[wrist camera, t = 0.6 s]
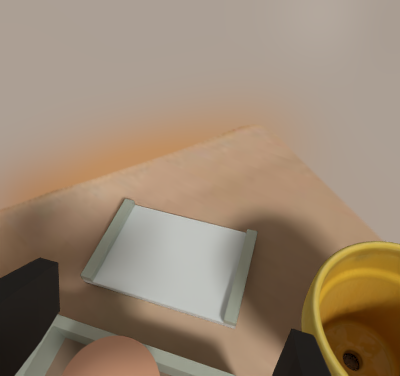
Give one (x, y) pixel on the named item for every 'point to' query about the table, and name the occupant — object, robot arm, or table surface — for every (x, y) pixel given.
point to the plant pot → (357, 309)
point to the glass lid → (174, 262)
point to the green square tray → (85, 334)
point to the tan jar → (113, 359)
